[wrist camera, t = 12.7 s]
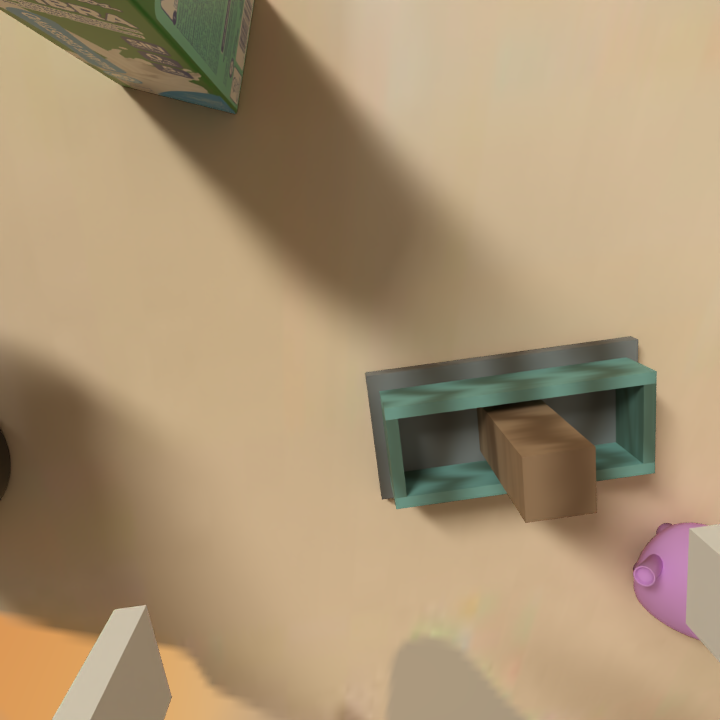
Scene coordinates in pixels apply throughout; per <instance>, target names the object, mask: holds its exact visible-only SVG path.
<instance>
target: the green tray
mask: <svg viewBox="0 0 720 720" xmlns="http://www.w3.org/2000/svg"><path fill="white" fill-rule="evenodd" d="M656 374H657V371H655V370H653V369H650V368H648V367H646V366H644V365H642V364H640V363H638V339H636V338H633V337H631V336H630V337H623V338H616V339H608V340H601V341H594V342H586V343H579V344H572V345H564V346H557V347H550V348H542V349H535V350H528V351H520V352H513V353H506V354H498V355H491V356H484V357H476V358H469V359H462V360H454V361H447V362H440V363H432V364H425V365H418V366H410V367H403V368H396V369H388V370H381V371H374V372H366V373H365V375H366V383H367V390H368V398H369V406H370V413H371V421H372V428H373V436H374V444H375V451H376V459H377V467H378V474H379V482H380V490H381V496H382V499H389V498H394V500H395V505H396V509H401V508H408V507H415V506H422V505H429V504H437V503H444V502H451V501H458V500H465V499H472V498H480V497H487V496H494V495H501V494H507V492H506V491H505V489H504V488H503V486H502V484H501V483H500V481H499V480H498V478H497V477H496V475H495V473H494V472H493V470H492V469H491V467H490V465H489V464H488V462H487V461H486V459H485V458H484V456H483V454H482V453H481V451H480V443H479V430H478V418H477V408H480V407H487V406H494V405H502V404H509V403H516V402H523V401H531V400H538V399H541V400H542V401H543V402H545V403H546V404H547V405H548V406H549V407H550V408H551V409H553V410H554V411H555V412H556V413H557V414H558V415H560V416H561V417H562V418H563V419H564V420H565V421H566V422H568V423H569V424H570V425H571V426H572V427H573V428H574V429H576V430H577V431H578V432H579V433H580V434H581V435H583V436H584V437H585V438H586V439H587V440H588V441H589V442H591V443H592V444H593V445H594V446H595V447H596V481H601V480H609V479H616V478H623V477H630V476H637V475H644V474H652V473H655V432H656Z"/></svg>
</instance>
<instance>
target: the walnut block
mask: <svg viewBox="0 0 720 720" xmlns="http://www.w3.org/2000/svg"><path fill="white" fill-rule="evenodd" d="M477 418H478V430H479V443H480V451H481V453H482V454H483V456H484V458H485V459H486V461H487V462H488V464H489V465H490V467H491V469H492V470H493V472H494V473H495V475H496V477H497V478H498V480H499V481H500V483H501V484H502V486H503V488H504V489H505V491H506V492H507V494H508V496H509V497H510V499H511V500H512V502H513V503H514V505H515V507H516V508H517V510H518V511H519V513H520V515H521V516H522V518H523V519H524V521H525V522H526V523H528V522H535V521H542V520H549V519H556V518H563V517H570V516H577V515H584V514H591V513H597V499H596V447H595V446H594V445H593V444H592V443H591V442H589V441H588V440H587V439H586V438H585V437H584V436H583V435H581V434H580V433H579V432H578V431H577V430H576V429H574V428H573V427H572V426H571V425H570V424H569V423H568V422H566V421H565V420H564V419H563V418H562V417H561V416H560V415H558V414H557V413H556V412H555V411H554V410H553V409H551V408H550V407H549V406H548V405H547V404H546V403H545V402H543V401H542V400H541V399H538V400H531V401H523V402H516V403H509V404H502V405H494V406H487V407H480V408H477Z"/></svg>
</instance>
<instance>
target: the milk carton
mask: <svg viewBox="0 0 720 720" xmlns="http://www.w3.org/2000/svg"><path fill="white" fill-rule="evenodd" d="M253 7H254V0H0V10H2V11H3V12H5V13H6V14H8V15H10V16H11V17H13V18H14V19H16V20H18V21H19V22H21V23H22V24H24V25H26V26H27V27H29V28H30V29H32V30H33V31H35V32H37V33H38V34H40V35H41V36H43V37H45V38H46V39H48V40H49V41H51V42H53V43H54V44H56V45H57V46H59V47H61V48H62V49H64V50H65V51H67V52H68V53H70V54H72V55H73V56H75V57H76V58H78V59H80V60H81V61H83V62H84V63H86V64H88V65H89V66H91V67H92V68H94V69H96V70H97V71H99V72H100V73H102V74H103V75H105V76H107V77H108V78H110V79H111V80H113V81H115V82H116V83H118V84H119V85H121V86H125V87H129V88H133V89H137V90H141V91H145V92H149V93H153V94H157V95H161V96H165V97H169V98H173V99H177V100H181V101H185V102H189V103H193V104H197V105H201V106H205V107H209V108H213V109H217V110H221V111H225V112H229V113H233V114H236V113H237V108H238V102H239V95H240V89H241V83H242V76H243V70H244V64H245V57H246V51H247V45H248V38H249V32H250V26H251V19H252V13H253Z"/></svg>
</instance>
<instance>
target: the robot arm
mask: <svg viewBox="0 0 720 720" xmlns="http://www.w3.org/2000/svg"><path fill="white" fill-rule="evenodd" d="M9 475H10V457H9V452H8V448H7V444H6V441H5V439H4V436H3V434H2V432H1V430H0V500H1V498H2V496H3V494H4V492H5V490H6V488H7V485H8V481H9ZM686 624H687V626H688V627H689V628H690V629H691V630H692V631H693V632H694V634H695V635H696V636H697V637H698V638H699V639H700V640H701V642H702V643H703V644H704V645H705V646H706V647H707V649H708V650H709V651H710V652H711V653H712V654H713V655H714V657H715V658H716V659H717V660H718V661H719V662H720V524H717V525H710V526H703V527H696V528H689V548H688V575H687V602H686ZM171 698H172V696H171V693H170V689H169V685H168V682H167V678H166V675H165V671H164V668H163V664H162V660H161V657H160V653H159V649H158V645H157V642H156V638H155V635H154V631H153V627H152V624H151V620H150V616H149V613H148V609H147V605H142V606H135V607H128V608H121V609H114V611H113V613H112V614H111V616H110V618H109V620H108V621H107V623H106V625H105V627H104V628H103V630H102V632H101V634H100V636H99V637H98V639H97V641H96V643H95V644H94V646H93V648H92V650H91V651H90V653H89V655H88V657H87V659H86V660H85V662H84V664H83V666H82V667H81V670H80V671H79V673H78V674H77V676H76V678H75V680H74V682H73V683H72V685H71V687H70V689H69V690H68V692H67V694H66V696H65V697H64V699H63V701H62V703H61V705H60V706H59V708H58V710H57V712H56V713H55V715H54V717H53V719H52V720H164V718H165V715H166V712H167V709H168V706H169V703H170V700H171Z"/></svg>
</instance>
